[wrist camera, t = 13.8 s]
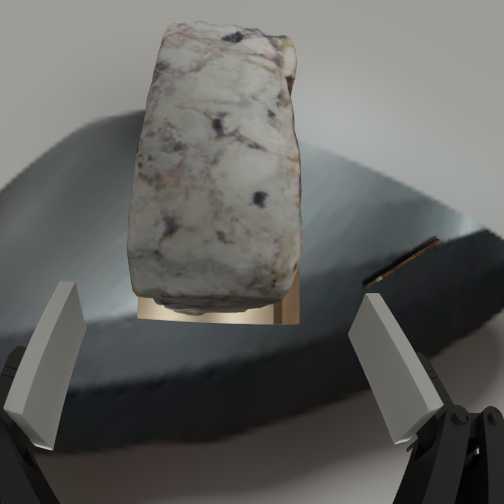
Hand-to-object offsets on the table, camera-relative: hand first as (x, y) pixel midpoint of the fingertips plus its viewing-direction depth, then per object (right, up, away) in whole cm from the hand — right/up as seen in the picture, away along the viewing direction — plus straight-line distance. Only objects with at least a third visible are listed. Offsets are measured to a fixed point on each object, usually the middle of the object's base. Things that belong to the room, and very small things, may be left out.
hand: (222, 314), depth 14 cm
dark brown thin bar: (+21, +1, +25) cm, 33 cm away
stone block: (-3, +3, +16) cm, 17 cm away
